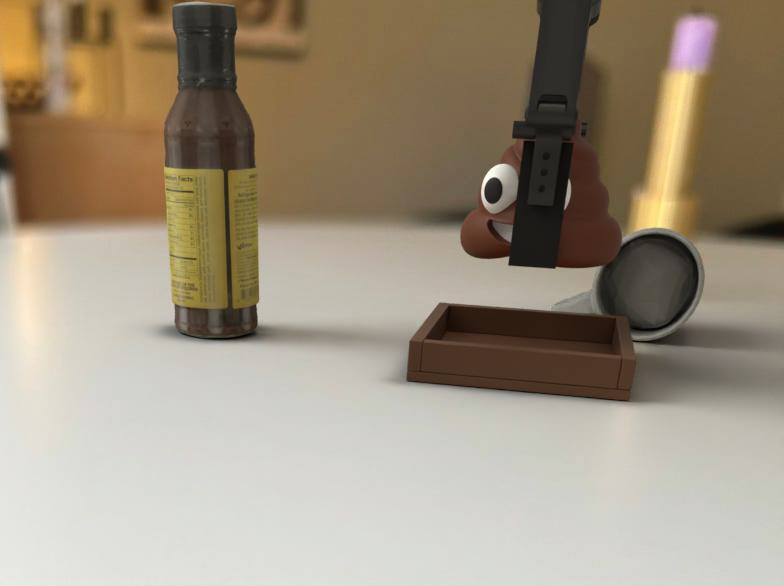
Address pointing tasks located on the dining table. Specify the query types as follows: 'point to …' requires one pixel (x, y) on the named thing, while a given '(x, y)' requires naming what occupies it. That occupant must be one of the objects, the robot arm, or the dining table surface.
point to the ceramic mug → (646, 284)
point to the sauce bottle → (210, 180)
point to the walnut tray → (524, 351)
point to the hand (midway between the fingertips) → (535, 256)
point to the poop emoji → (580, 220)
